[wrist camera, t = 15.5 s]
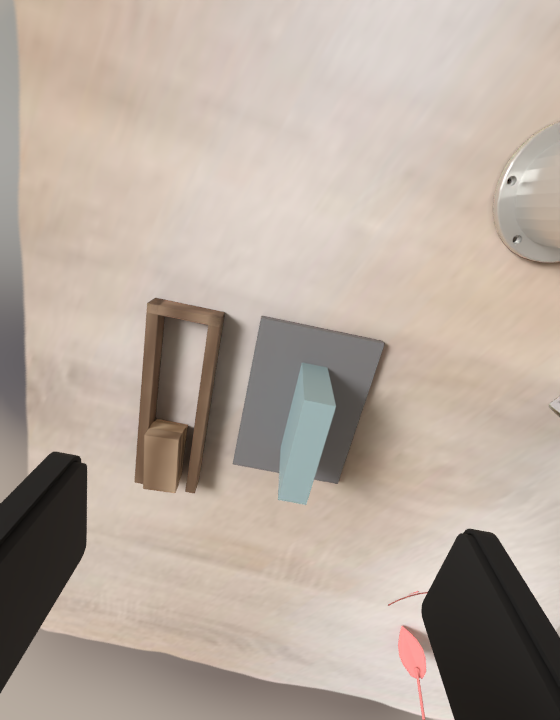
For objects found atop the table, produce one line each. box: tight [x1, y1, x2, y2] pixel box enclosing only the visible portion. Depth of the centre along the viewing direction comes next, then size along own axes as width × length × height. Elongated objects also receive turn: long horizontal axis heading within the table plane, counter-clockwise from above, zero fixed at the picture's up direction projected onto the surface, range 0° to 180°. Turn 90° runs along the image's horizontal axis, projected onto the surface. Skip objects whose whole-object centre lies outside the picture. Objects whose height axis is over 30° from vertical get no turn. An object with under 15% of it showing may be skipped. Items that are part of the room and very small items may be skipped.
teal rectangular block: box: [278, 363, 336, 505], centre depth 41 cm, size 3×12×9 cm, turn 168°
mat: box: [233, 316, 384, 484], centre depth 45 cm, size 14×20×1 cm
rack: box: [135, 298, 225, 493], centre depth 45 cm, size 8×24×2 cm, turn 168°
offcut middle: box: [149, 421, 185, 480], centre depth 47 cm, size 4×8×2 cm, turn 170°
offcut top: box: [143, 428, 182, 493], centre depth 46 cm, size 4×8×2 cm, turn 171°
